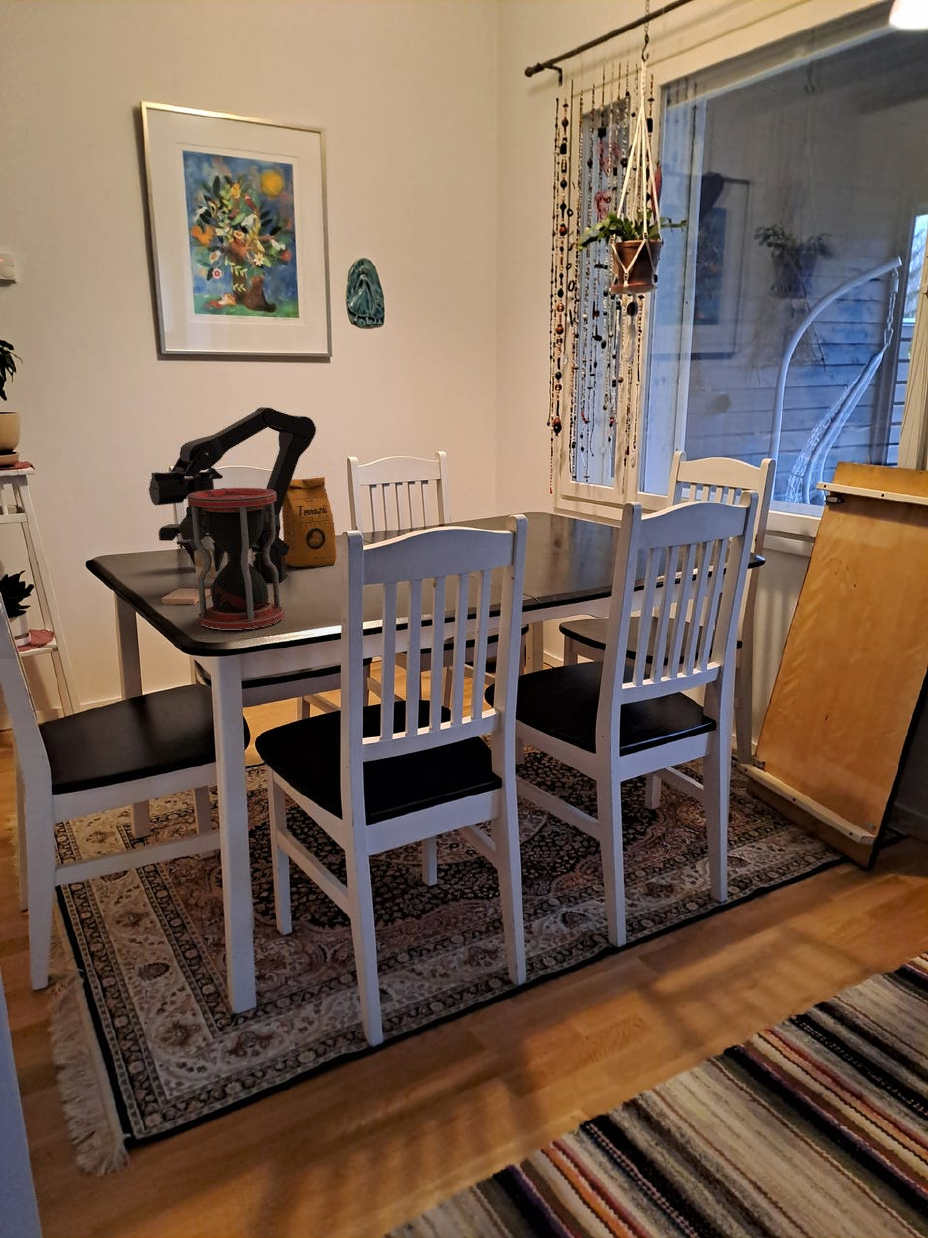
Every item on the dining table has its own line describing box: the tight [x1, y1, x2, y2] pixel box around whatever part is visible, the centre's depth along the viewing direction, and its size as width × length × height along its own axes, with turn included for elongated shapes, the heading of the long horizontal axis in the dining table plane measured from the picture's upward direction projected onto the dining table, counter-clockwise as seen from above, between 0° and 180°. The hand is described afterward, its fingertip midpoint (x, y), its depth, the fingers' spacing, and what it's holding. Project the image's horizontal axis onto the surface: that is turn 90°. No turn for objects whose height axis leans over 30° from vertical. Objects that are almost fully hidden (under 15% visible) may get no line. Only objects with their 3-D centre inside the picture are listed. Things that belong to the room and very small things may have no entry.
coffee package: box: [281, 476, 337, 568], centre depth 214 cm, size 10×12×22 cm
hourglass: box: [187, 487, 285, 629], centre depth 164 cm, size 16×16×25 cm
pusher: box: [194, 548, 221, 579], centre depth 190 cm, size 4×4×6 cm
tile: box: [161, 588, 211, 605], centre depth 184 cm, size 7×2×9 cm
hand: (208, 570), depth 191 cm, fingers closed on pusher, 4 cm apart
